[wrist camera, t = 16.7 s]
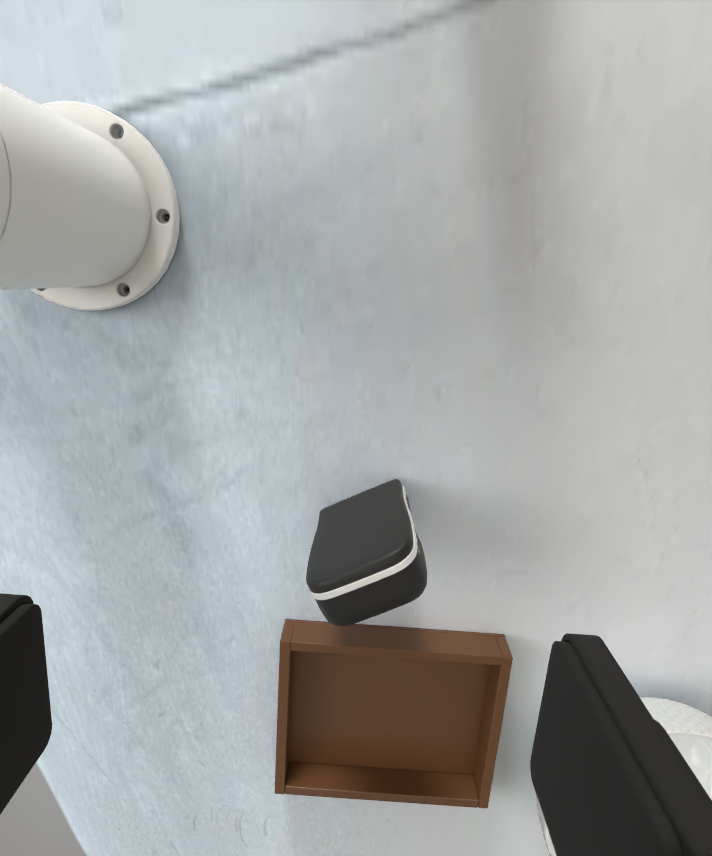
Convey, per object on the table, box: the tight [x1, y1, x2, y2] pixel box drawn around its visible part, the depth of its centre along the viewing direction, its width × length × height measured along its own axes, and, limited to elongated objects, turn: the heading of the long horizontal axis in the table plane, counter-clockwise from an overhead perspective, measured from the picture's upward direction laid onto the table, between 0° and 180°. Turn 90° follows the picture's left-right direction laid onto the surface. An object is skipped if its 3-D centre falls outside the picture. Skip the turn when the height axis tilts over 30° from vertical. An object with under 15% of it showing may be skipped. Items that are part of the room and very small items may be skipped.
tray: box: [275, 619, 512, 808], centre depth 45 cm, size 18×15×3 cm
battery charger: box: [306, 479, 427, 626], centre depth 36 cm, size 7×4×11 cm, turn 114°
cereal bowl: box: [537, 697, 712, 856], centre depth 44 cm, size 17×17×7 cm
